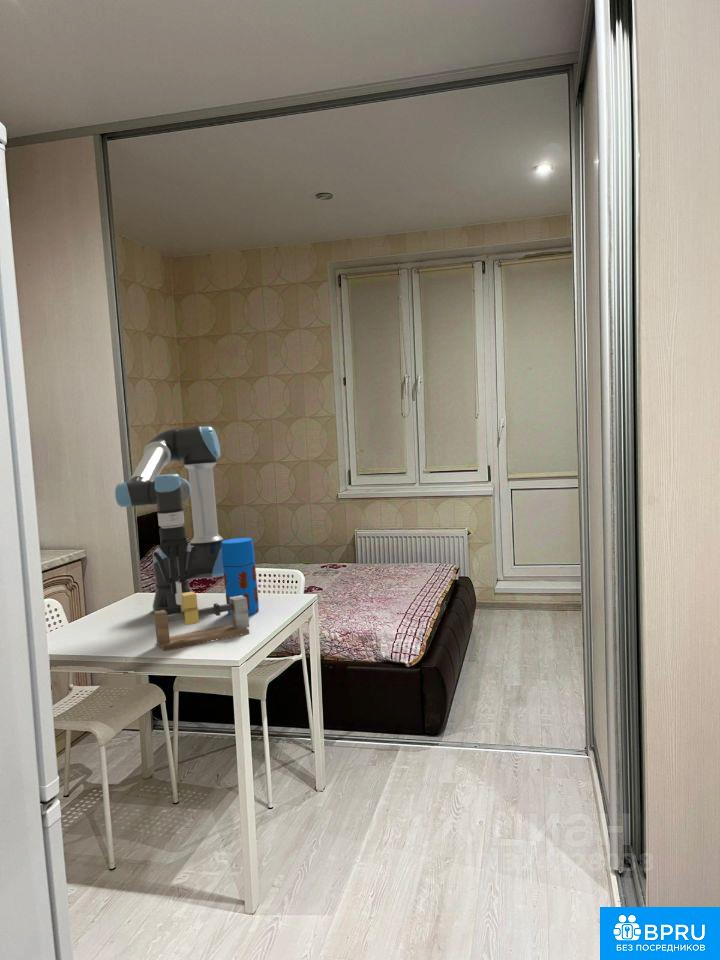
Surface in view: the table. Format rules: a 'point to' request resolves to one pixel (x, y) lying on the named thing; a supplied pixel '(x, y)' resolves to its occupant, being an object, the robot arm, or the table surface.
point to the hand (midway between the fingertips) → (179, 603)
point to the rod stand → (236, 628)
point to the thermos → (240, 571)
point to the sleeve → (190, 608)
